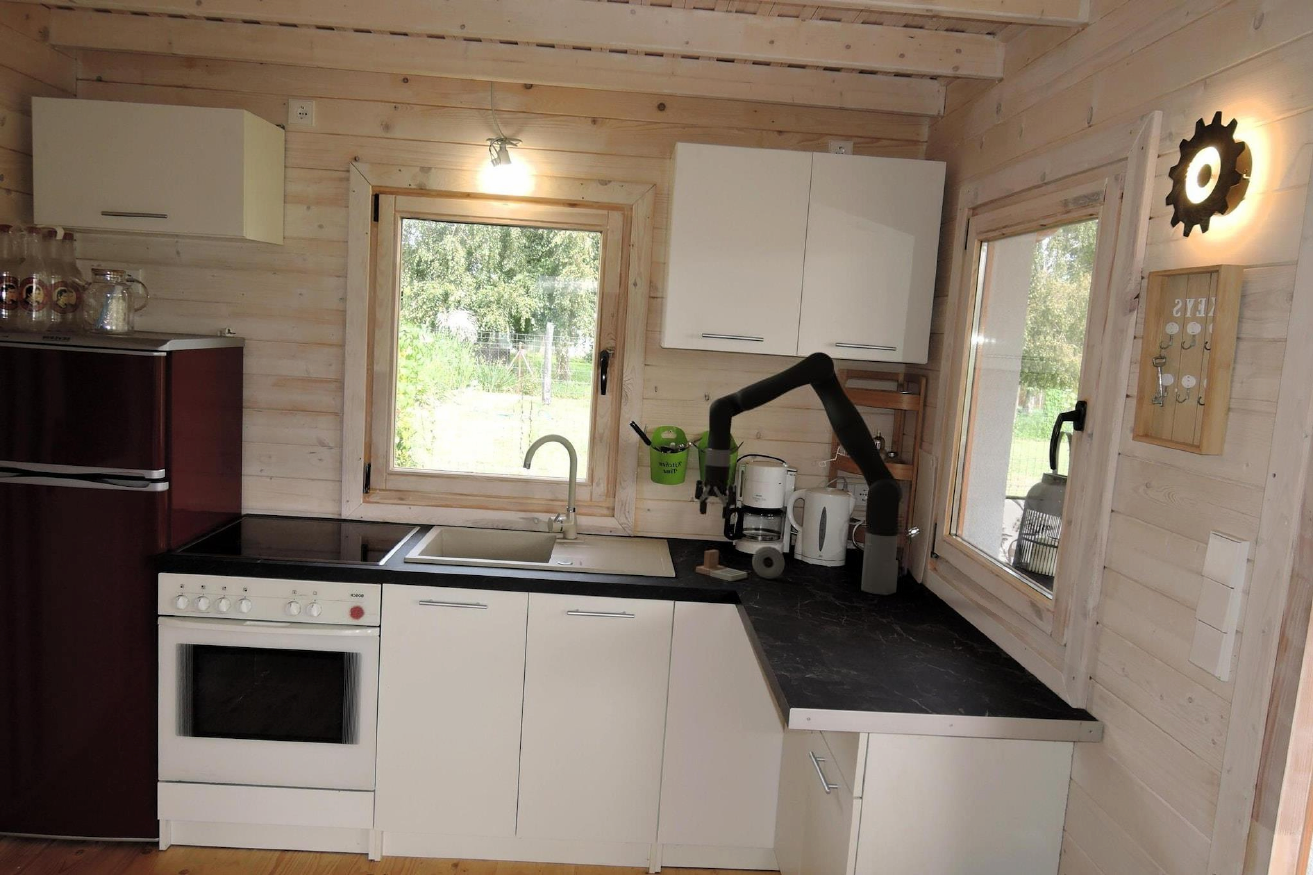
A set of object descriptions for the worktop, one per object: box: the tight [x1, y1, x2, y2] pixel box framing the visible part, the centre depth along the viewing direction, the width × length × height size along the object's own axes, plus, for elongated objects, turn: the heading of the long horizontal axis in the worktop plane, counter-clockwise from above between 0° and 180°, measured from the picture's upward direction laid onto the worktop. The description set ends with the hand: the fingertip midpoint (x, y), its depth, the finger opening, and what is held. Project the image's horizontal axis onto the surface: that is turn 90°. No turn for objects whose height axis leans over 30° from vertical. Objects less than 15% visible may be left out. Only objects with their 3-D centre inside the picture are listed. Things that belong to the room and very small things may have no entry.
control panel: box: [709, 567, 748, 582], centre depth 280 cm, size 8×8×2 cm
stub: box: [695, 549, 726, 576], centre depth 285 cm, size 5×8×6 cm, turn 138°
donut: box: [751, 545, 786, 580], centre depth 280 cm, size 10×4×10 cm, turn 67°
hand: (714, 516), depth 284 cm, fingers open, 8 cm apart
